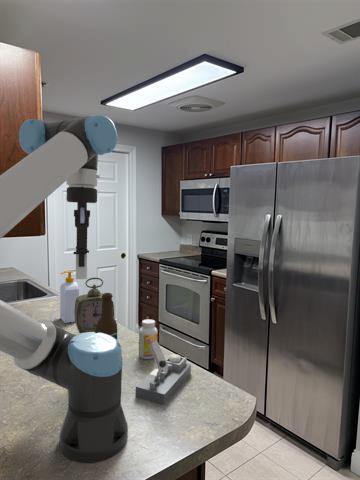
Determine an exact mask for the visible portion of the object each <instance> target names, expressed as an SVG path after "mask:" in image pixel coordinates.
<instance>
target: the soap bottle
mask: <svg viewBox="0 0 360 480" xmlns="http://www.w3.org/2000/svg"><path fill="white" fill-rule="evenodd" d="M66 273H67V277H65V282H62V283H61V285H60V289H59V290H60V291H59V294H60V295H59V296H60V297H59V299H60V300H59V304H60V306H59V307H60V308H59V310H60V311H59V315H60V316H59V318H60V320H61V321H62V322H63V323H64V324H68V323H70V322H71V323H75V315H74V310H75V302H76V299H77V297H78V296H80V289H79V285H78V282H76V281H74V279H75V278H74V277H73V276H72V274H74V272H73V271H71V270H70V271H69V270H67V271H63V272H61V273H60V274H61V275H63V274H66Z"/></svg>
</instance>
